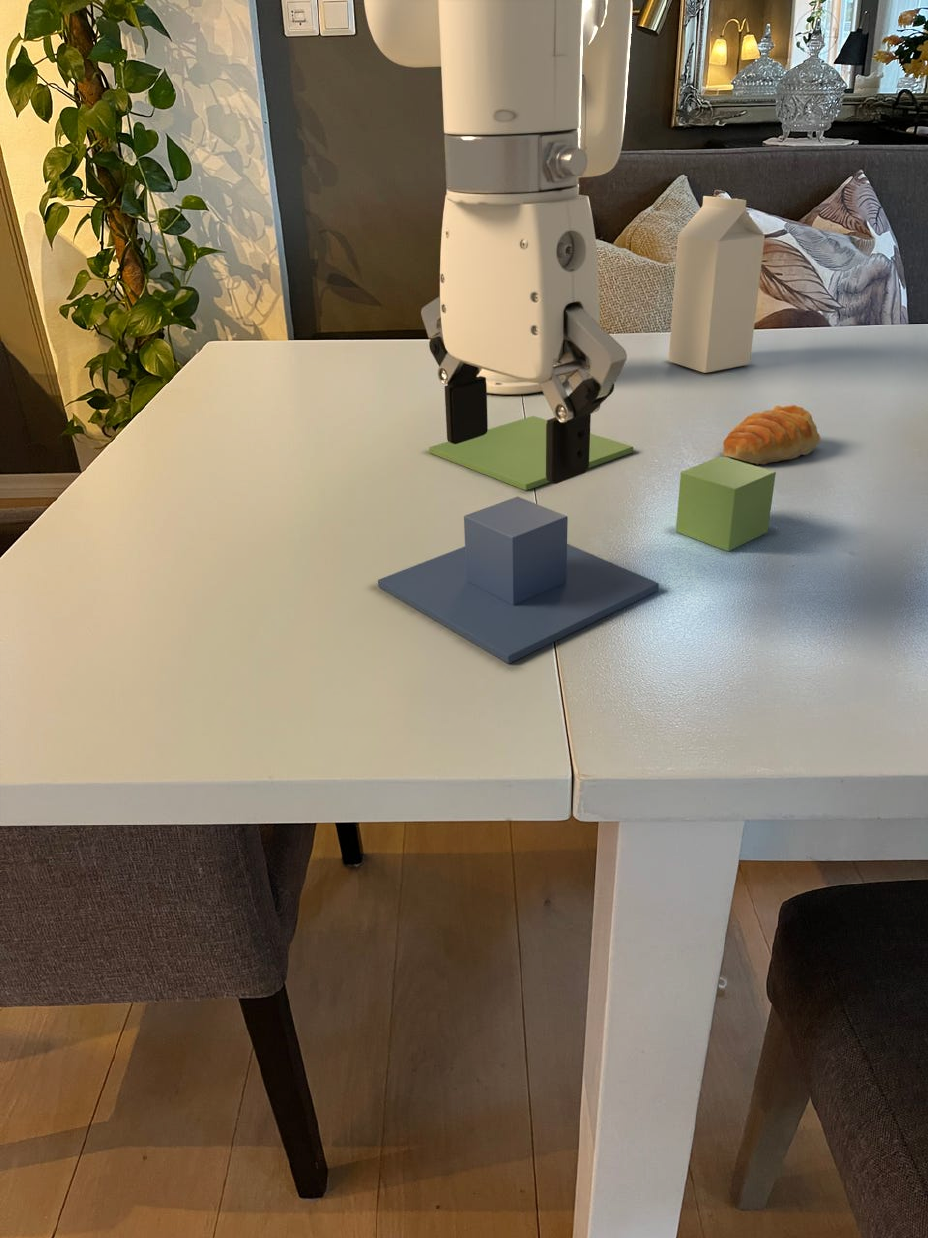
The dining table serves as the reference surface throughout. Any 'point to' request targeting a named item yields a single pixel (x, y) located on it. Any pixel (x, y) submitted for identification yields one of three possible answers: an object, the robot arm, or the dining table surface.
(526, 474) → the green mat
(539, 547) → the blue block
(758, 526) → the green block
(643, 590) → the blue mat
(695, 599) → the dining table surface
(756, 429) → the pastry
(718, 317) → the milk carton
